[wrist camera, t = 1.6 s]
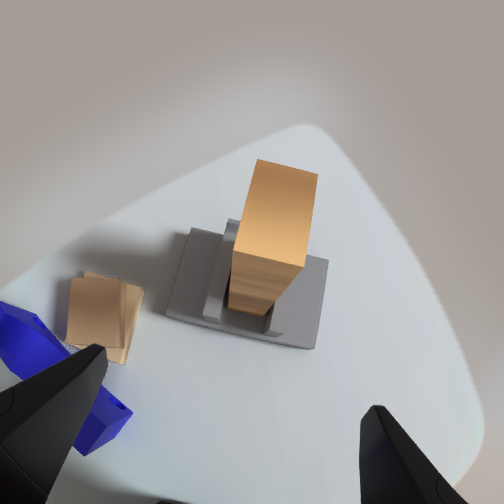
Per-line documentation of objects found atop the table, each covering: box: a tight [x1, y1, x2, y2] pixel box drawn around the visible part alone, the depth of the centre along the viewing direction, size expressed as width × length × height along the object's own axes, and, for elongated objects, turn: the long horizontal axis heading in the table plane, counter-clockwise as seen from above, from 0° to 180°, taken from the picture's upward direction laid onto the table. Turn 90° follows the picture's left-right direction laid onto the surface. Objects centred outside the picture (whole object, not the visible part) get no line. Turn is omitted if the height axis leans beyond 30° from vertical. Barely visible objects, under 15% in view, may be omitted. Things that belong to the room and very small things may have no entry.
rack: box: [166, 218, 329, 350], centre depth 22 cm, size 7×11×4 cm, turn 77°
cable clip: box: [0, 301, 133, 457], centre depth 17 cm, size 12×4×6 cm, turn 54°
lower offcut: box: [64, 270, 145, 364], centre depth 22 cm, size 6×5×2 cm
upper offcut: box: [67, 278, 127, 349], centre depth 20 cm, size 5×4×2 cm
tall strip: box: [228, 159, 318, 317], centre depth 17 cm, size 4×2×12 cm, turn 167°
